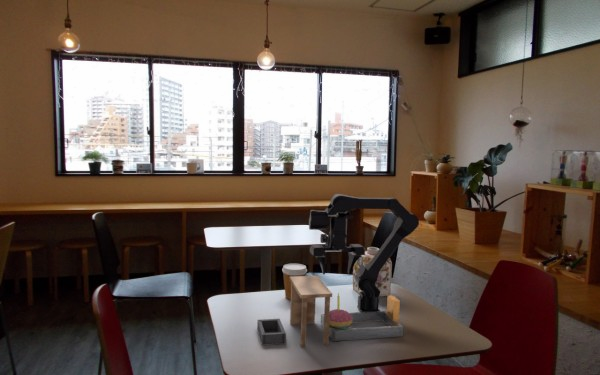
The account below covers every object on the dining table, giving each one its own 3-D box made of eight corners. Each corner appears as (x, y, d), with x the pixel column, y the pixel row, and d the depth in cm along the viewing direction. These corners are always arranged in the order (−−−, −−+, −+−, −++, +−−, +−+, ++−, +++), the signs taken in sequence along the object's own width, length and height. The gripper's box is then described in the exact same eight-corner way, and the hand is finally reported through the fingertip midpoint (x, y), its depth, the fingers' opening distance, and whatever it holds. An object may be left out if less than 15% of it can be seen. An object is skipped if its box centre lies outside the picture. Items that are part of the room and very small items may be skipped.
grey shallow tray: (386, 319, 145) (388, 291, 144) (403, 336, 132) (405, 305, 132) (320, 323, 140) (321, 294, 139) (332, 340, 128) (333, 309, 127)
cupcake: (322, 327, 138) (323, 291, 136) (347, 326, 139) (349, 290, 138) (328, 339, 129) (330, 300, 128) (355, 338, 131) (357, 299, 129)
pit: (279, 327, 136) (279, 318, 136) (285, 343, 126) (285, 333, 125) (257, 329, 135) (257, 319, 134) (261, 345, 124) (262, 335, 124)
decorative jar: (377, 286, 180) (379, 244, 179) (391, 296, 169) (393, 251, 168) (351, 288, 177) (353, 245, 175) (363, 298, 166) (365, 252, 164)
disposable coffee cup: (287, 303, 158) (289, 271, 157) (277, 295, 166) (278, 264, 165) (310, 299, 162) (311, 268, 161) (299, 291, 171) (300, 262, 169)
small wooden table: (315, 321, 142) (317, 275, 141) (330, 345, 125) (332, 293, 124) (288, 323, 140) (289, 276, 139) (299, 347, 123) (301, 294, 122)
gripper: (355, 225, 160) (353, 266, 162) (306, 226, 156) (305, 268, 157) (366, 231, 149) (364, 275, 151) (314, 232, 145) (313, 277, 147)
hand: (336, 273), depth 152 cm, fingers open, 9 cm apart
